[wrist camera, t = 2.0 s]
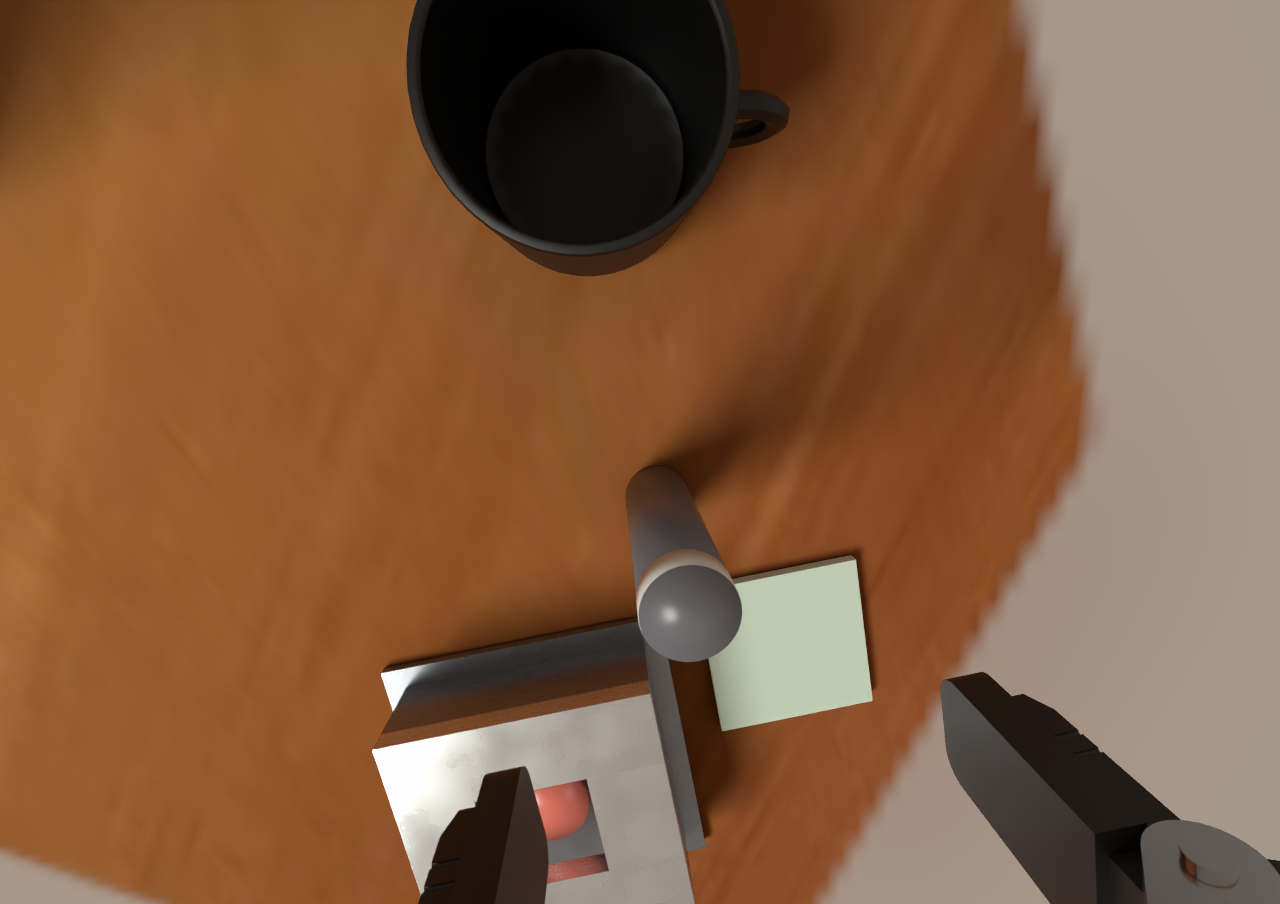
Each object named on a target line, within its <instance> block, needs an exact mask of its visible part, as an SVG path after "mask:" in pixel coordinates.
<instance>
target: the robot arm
mask: <svg viewBox="0 0 1280 904" xmlns="http://www.w3.org/2000/svg"><path fill="white" fill-rule="evenodd" d="M941 701H942V711H943V721H944V730H945V731H944V732H945V742H946V750H947V755H948V759H949V761H950V764H951V767H952V769H953V772H954V774H955V776H956V778H957V780H958V781H959V783H960V785H961V786H962V787H963V789H964V790H965V791H966V793H967V794H968V795H969V797H970V798H971V799H972V801H973V802H974V803H975V804H976V806H977V807H978V809H979V810H980V811H981V813H982V814H983V815H984V817H985V818H986V819H987V820H988V822H989V823H990V824H991V826H992V827H993V828H994V830H995V831H996V832H997V833H998V835H999V836H1000V838H1001V839H1002V840H1003V842H1004V843H1005V844H1006V846H1007V847H1008V848H1009V849H1010V851H1011V852H1012V853H1013V855H1014V856H1015V857H1016V859H1017V860H1018V861H1019V863H1020V864H1021V865H1022V867H1023V868H1024V869H1025V871H1026V872H1027V873H1028V875H1029V876H1030V877H1031V879H1032V880H1033V881H1034V882H1035V884H1036V885H1037V887H1038V888H1039V889H1040V890H1041V892H1042V893H1043V894H1044V896H1045V897H1046V898H1047V900H1048V901H1049V902H1050V904H1280V861H1277V860H1269V859H1266V858H1265V857H1263V856H1262V855H1261V854H1260V853H1259V852H1258V851H1257V850H1255V849H1254V848H1252V847H1251V846H1250V845H1248V844H1247V843H1245V842H1243V841H1242V840H1240V839H1238V838H1236V837H1235V836H1232V835H1231V834H1228V833H1226V832H1224V831H1222V830H1219V829H1217V828H1214V827H1211V826H1208V825H1204V824H1201V823H1196V822H1191V821H1184V820H1180V819H1179V818H1178V817H1177V816H1176V815H1175V814H1173V813H1172V812H1171V811H1170V810H1169V809H1168V808H1166V807H1165V806H1164V805H1163V804H1162V803H1161V802H1160V801H1158V800H1157V799H1156V798H1155V797H1154V796H1153V795H1152V794H1151V793H1149V792H1148V791H1147V790H1146V789H1145V788H1144V787H1143V786H1141V785H1140V784H1139V783H1138V782H1137V781H1135V780H1134V779H1133V778H1132V777H1131V776H1130V775H1129V774H1128V773H1126V772H1125V771H1124V770H1123V769H1122V768H1121V767H1120V766H1118V765H1117V764H1116V763H1115V762H1114V761H1113V760H1112V759H1110V758H1109V757H1108V756H1107V755H1106V754H1105V753H1104V752H1100V751H1099V750H1098V747H1097V746H1096V745H1094V744H1093V743H1092V742H1091V741H1090V740H1089V739H1088V738H1086V737H1085V736H1084V735H1083V734H1082V735H1080V734H1079V732H1078V730H1077V729H1076V728H1075V727H1074V726H1073V725H1071V724H1070V723H1069V722H1068V721H1067V720H1066V719H1065V718H1063V717H1062V716H1061V715H1060V714H1059V713H1058V712H1057V711H1055V710H1054V709H1053V708H1050V707H1048V706H1046V705H1044V704H1042V703H1040V702H1038V701H1036V700H1034V699H1032V698H1030V697H1028V696H1026V695H1024V694H1021V695H1016V696H1011V695H1010V694H1009V693H1008V692H1006V691H1005V690H1004V689H1003V688H1002V687H1001V686H1000V685H999V684H998V683H997V682H996V681H995V680H993V679H992V678H991V677H990V676H989V675H988V674H986V673H984V672H979V673H974V674H970V675H965V676H960V677H955V678H950V679H946V680H943V681H942V683H941ZM431 865H432V868H431V869H429V872H428V875H427V878H426V882H425V885H424V893H422V894H421V897H420V900H419V903H418V904H545V897H546V888H547V878H548V865H549V859H548V845H547V838H546V833H545V829H544V825H543V821H542V818H541V814H540V811H539V807H538V803H537V800H536V796H535V793H534V789H533V785H532V782H531V778H530V775H529V772H528V770H527V768H526V767H525V766H522V767H517V768H512V769H507V770H502V771H498V772H493V773H488V774H486V775H485V776H484V778H483V780H482V784H481V787H480V791H479V795H478V799H477V802H476V806H475V807H472V808H468V809H463V810H459V811H458V812H457V814H456V815H455V816H454V818H453V819H452V821H451V822H450V823H449V825H448V826H447V827H446V829H445V830H444V832H443V833H442V834H441V836H440V838H439V841H438V844H437V848H436V851H435V854H434V857H433V860H432V863H431Z"/></svg>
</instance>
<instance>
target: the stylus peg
mask: <svg viewBox="0 0 1280 904" xmlns="http://www.w3.org/2000/svg"><path fill="white" fill-rule="evenodd" d="M626 506H627V515H628V524H629V533H630V542H631V552H632V561H633V570H634V579H635V589H636V604H637V613H638V622H639V626H640V630H641V632H642V634H643V636H644V638H645V640H646V641H647V643H648V644H649V645H650V646H651V647H652V648H653V649H654V650H655V651H656V652H658V653H659V654H661V655H662V656H664V657H666V658H669V659H672V660H675V661H681V662H695V661H701V660H705V659H708V658H710V657H712V656H714V655H716V654H718V653H719V652H721V651H722V650H724V649H725V648H726V647H727V646H728V645H729V644H730V643H731V641H732V640H733V639H734V637H735V636H736V634H737V632H738V630H739V627H740V624H741V619H742V603H741V599H740V596H739V593H738V591H737V589H736V587H735V585H734V582H733V580H732V578H731V576H730V574H729V572H728V571H727V569H726V567H725V565H724V563H723V561H722V559H721V557H720V555H719V553H718V551H717V549H716V546H715V544H714V542H713V540H712V538H711V536H710V534H709V532H708V530H707V528H706V526H705V523H704V521H703V519H702V517H701V515H700V513H699V511H698V509H697V507H696V505H695V503H694V501H693V498H692V496H691V494H690V492H689V490H688V488H687V486H686V484H685V482H684V480H683V479H682V477H681V476H680V475H679V474H678V473H677V472H675V471H674V470H672V469H670V468H667V467H664V466H651V467H647V468H645V469H643V470H641V471H639V472H638V473H637V474H636V475H634V476H633V478H632V479H631V480H630V482H629V484H628V486H627V490H626Z"/></svg>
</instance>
